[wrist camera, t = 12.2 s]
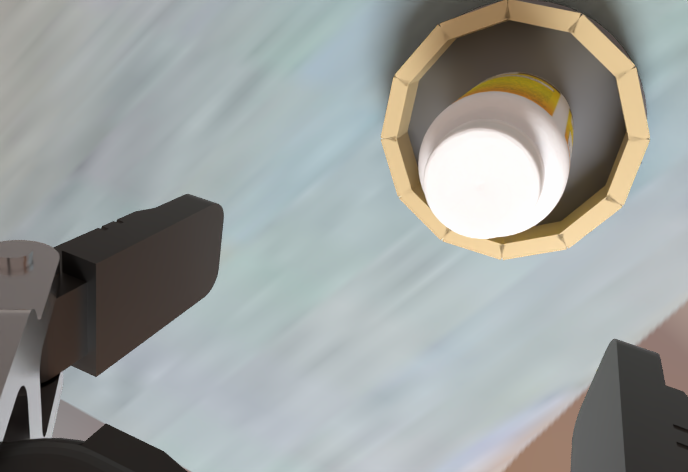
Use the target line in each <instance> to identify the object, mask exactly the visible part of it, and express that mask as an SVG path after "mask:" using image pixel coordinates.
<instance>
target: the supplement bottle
mask: <svg viewBox="0 0 688 472" xmlns="http://www.w3.org/2000/svg"><path fill="white" fill-rule="evenodd" d="M573 135H574V123H573V117H572V113H571V110H570V107H569V105H568V103H567V101H566V99H565V98H564V96H563V95H562V94H561V92H560V91H559V90H558V89H557V88H556V87H555V86H554V85H552V84H551V83H550V82H548V81H546V80H545V79H543V78H541V77H538V76H535V75H533V74H529V73H523V72H509V73H503V74H499V75H496V76H493V77H491V78H488V79H486V80H485V81H483V82H481V83H479V84H478V85H477V86H475V87H474V88H472V89H471V90H470V91H468V92H467V93H466V94H464V95H463V96H462V97H460V98H459V99H458V100H456V101H455V102H454V103H452V104H451V105H450V106H448V107H447V108H446V109H445V110H443V111H442V112H441V113H440V114H439V115H438V116H437V118H436V119H435V120H434V121H433V123H432V124H431V125H430V127H429V129H428V130H427V132H426V134H425V136H424V138H423V141H422V144H421V147H420V152H419V161H418V170H419V178H420V182H421V185H422V188H423V191H424V193H425V197H426V200H427V203H428V205H429V207H430V209H431V211H432V212H433V214H434V215H435V216H436V217H437V218H438V220H439V221H440V222H441V223H442V224H444V225H445V226H446V227H447V228H449V229H451V230H452V231H454V232H456V233H458V234H460V235H463V236H466V237H471V238H478V239H489V238H495V237H503V236H509V235H513V234H517V233H520V232H522V231H525V230H527V229H529V228H531V227H533V226H535V225H536V224H538V223H539V222H540V221H542V220H543V219H544V218H545V217H546V216H547V215H548V214H549V213H550V212H551V211H552V210H553V209H554V207H555V206H556V204H557V203H558V202H559V200H560V198H561V196H562V194H563V192H564V190H565V187H566V184H567V180H568V176H569V170H570V161H571V154H572V145H573Z"/></svg>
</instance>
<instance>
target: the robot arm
mask: <svg viewBox="0 0 688 472" xmlns="http://www.w3.org/2000/svg"><path fill="white" fill-rule="evenodd" d="M223 220H224V213H223V209H222V207H221V205H219V204H217V203H214V202H211V201H208V200H205V199H202V198H199V197H196V196H193V195H190V194H185V195H183V196H181V197H178V198H176V199H174V200H172V201H170V202H167V203H165V204H163V205H161V206H158V207H156V208H152V209H147V210H141V211H136V212H133V213H131V214H129V215H126V216H124V217H122V218H120V219H117V222H114V221H113V222H111V223H108V224H106V225H104V226H102V228H101V229H100V228H97V229H95V230H92V231H90V232H88V233H86V234H83V235H81V236H79V237H76V238H74V239H72V240H70V241H67V242H65V243H63V244H61V245H58V246H56V247H54V248H53V247H51V246H49V245H46V244H44V243H40V242H35V241H27V240H11V241H2V242H0V472H187V471H186V470H185V469H184V468H182V467H181V466H180V465H179V464H178V463H177V462H176V461H174V460H173V459H172V458H171V457H170V456H169V455H167V454H166V453H165V452H164V451H162V450H160V449H158V448H156V447H154V446H151V445H149V444H147V443H145V442H143V441H141V440H139V439H137V438H135V437H133V436H131V435H129V434H127V433H125V432H122V431H120V430H118V429H116V428H114V427H112V426H110V425H108V424H105V425H104V426H103V427H101V428H100V429H99V430H98V431H97V432H95V433H94V434H93V435H92V436H91V437H90V438H88V439H87V440H86V441H81V440H73V439H63V438H52V434H53V429H54V425H55V420H56V415H57V411H58V406H59V401H60V397H61V393H62V388H63V370H65V369H66V368H68V367H69V366H73V367H76V368H78V369H80V370H82V371H84V372H86V373H89V374H91V375H93V376H95V377H97V376H98V375H99V374H101V373H102V372H103V371H105V370H106V369H108V368H109V367H110V366H112V365H113V364H114V363H116V362H117V361H118V360H120V359H121V358H122V357H124V356H125V355H127V354H128V353H129V352H131V351H132V350H133V349H135V348H136V347H137V346H139V345H140V344H141V343H143V342H144V341H146V340H147V339H148V338H150V337H151V336H152V335H154V334H155V333H156V332H158V331H159V330H160V329H162V328H163V327H164V326H166V325H167V324H169V323H170V322H171V321H173V320H174V319H175V318H177V317H178V316H179V315H181V314H182V313H183V312H185V311H186V310H188V309H189V308H190V307H192V306H193V305H194V304H196V303H197V302H198V301H200V300H201V299H202V298H204V297H205V296H206V295H207V294H208V293H209V292H210V290H211V289H212V287H213V285H214V283H215V281H216V278H217V275H218V270H219V260H220V250H221V240H222V230H223ZM571 472H688V397H687V395H686V394H685V393H684V392H683V391H680V390H677V389H674V388H671V387H668V386H666V385H665V380H664V375H663V370H662V365H661V359H660V356H659V354H658V353H656V352H653V351H650V350H647V349H644V348H641V347H638V346H635V345H632V344H629V343H626V342H623V341H620V340H617V339H613V340H612V341H611V342H610V344H609V345H608V347H607V349H606V351H605V354H604V356H603V358H602V361H601V363H600V365H599V367H598V370H597V372H596V374H595V376H594V379H593V381H592V383H591V385H590V388H589V390H588V392H587V395H586V397H585V399H584V401H583V404H582V406H581V409H580V411H579V414H578V417H577V420H576V424H575V428H574V432H573V438H572V454H571Z"/></svg>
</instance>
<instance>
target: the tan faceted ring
mask: <svg viewBox="0 0 688 472" xmlns="http://www.w3.org/2000/svg"><path fill="white" fill-rule="evenodd" d="M509 72H523V73H529V74H533V75H535V76H538V77H541V78H543V79H545V80H546V81H548V82H550V83H551V84H552V85H554V86H555V87H556V88H557V89H558V90H559V91H560V92H561V94H562V95H563V96H564V98H565V99H566V101H567V103H568V105H569V107H570V110H571V113H572V117H573V123H574V135H573V145H572V154H571V161H570V170H569V176H568V180H567V184H566V187H565V190H564V192H563V194H562V196H561V198H560V200H559V202H558V203H557V204H556V206H555V207H554V209H553V210H552V211H551V212H550V213H549V214H548V215H547V216H546V217H545V218H544V219H543V220H542V221H540V222H539V223H538V224H536V225H535V226H533V227H531V228H529V229H527V230H525V231H522V232H520V233H517V234H513V235H509V236H503V237H495V238H489V239H478V238H471V237H466V236H463V235H460V234H458V233H456V232H454V231H452V230H451V229H449V228H447V227H446V226H445V225H444V224H442V223H441V222H440V221H439V220H438V218H437V217H436V216H435V215H434V214H433V212H432V211H431V209H430V207H429V205H428V203H427V200H426V197H425V193H424V191H423V188H422V185H421V182H420V178H419V170H418V161H419V152H420V147H421V144H422V141H423V138H424V136H425V134H426V132H427V130H428V129H429V127H430V125H431V124H432V123H433V121H434V120H435V119H436V118H437V116H438V115H439V114H440V113H441V112H442V111H443V110H445V109H446V108H447V107H448V106H450V105H451V104H452V103H454V102H455V101H456V100H458V99H459V98H460V97H462V96H463V95H464V94H466V93H467V92H468V91H470V90H471V89H472V88H474V87H475V86H477V85H478V84H479V83H481V82H483V81H485V80H486V79H488V78H491V77H493V76H496V75H499V74H503V73H509ZM381 138H383V139H381V142H382V145H383V149H384V152H385V155H386V159H387V162H388V165H389V169H390V172H391V175H392V178H393V182H394V185H395V188H396V192H397V195H398V196H401V197H400V198H399V199H400V200H401V201H402V202H403V203H404V204H405V205H406V206H407V207H408V208H409V209H410V210H411V211H412V212H413V213H414V214H415V215H416V216H417V217H418V218H419V219H420V220H421V221H422V222H423V223H424V224H425V225H426V226H427V227H428V228H429V229H430V230H431V231H432V232H433V233H434V234H435V235H436V236H437V237H438V238H439V239H440V240H441V239H443V242H447V243H450V244H453V245H456V246H459V247H462V248H465V249H469V250H472V251H475V252H478V253H481V254H484V255H487V256H491V257H494V258H497V259H500V260H501V258H503V260H505V259H511V258H517V257H523V256H529V255H535V254H541V253H547V252H553V251H559V250H565V249H567V247H568V248H570V247H571V246H572V245H574V244H575V243H576V242H578V241H579V240H580V239H581V238H583V237H584V236H585V235H587V234H588V233H589V232H591V231H592V230H593V229H594V228H596V227H597V226H598V225H600V224H601V223H602V222H604V221H605V220H606V219H607V218H609V217H610V216H611V215H613V214H614V213H615V212H616V211H618V210H619V209H620V208H622V205H624V203H625V201H626V198H627V196H628V193H629V191H630V188H631V186H632V183H633V181H634V178H635V176H636V174H637V171H638V169H639V166H640V164H641V161H642V159H643V156H644V154H645V151H646V149H647V146H648V144H649V141H650V139H649V138H650V134H649V129H648V124H647V110H646V101H645V95H644V91H643V87H642V84H641V80H640V77H639V75H638V73H637V69H636V67H635V65H634V63H633V62H632V61H631V59H630V57H629V56H628V54H627V53H626V51H625V50H624V48H623V47H622V46H621V45H620V44H619V42H618V41H617V40H616V39H615V38H614V37H613V36H612V34H611V33H609V32H608V31H607V30H606V29H605V28H603V27H602V26H601V25H600V24H599V23H597V22H596V21H594V20H593V19H591V18H589V17H588V16H586V15H584V14H583V13H580V12H578V11H576V10H573V9H571V8H569V7H566V6H562V5H559V4H555V3H551V2H546V1H538V0H503V1H500V2H496V3H492V4H489V5H485V6H482V7H478V8H476V9H474V10H472V11H469V12H467V13H465V14H462V15H461V16H459V17H456V18H453V19H450V20H448V21H445V22H442V23H440V25H437V26H436V27H435V28H434V30H433V31H432V32H431V33H430V34H429V35H428V37H427V38H426V39H425V40H424V41H423V42H422V44H421V45H420V46H419V47H418V48H417V49H416V51H415V52H414V53H413V54H412V55H411V56H410V57H409V59H408V60H407V61H406V62H405V63H404V64H403V66H402V67H401V68H400V69H399V70H398V71H397V73H396V74H395V77H393V81H392V86H391V91H390V96H389V101H388V105H387V110H386V115H385V120H384V124H383V129H382V134H381Z"/></svg>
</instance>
